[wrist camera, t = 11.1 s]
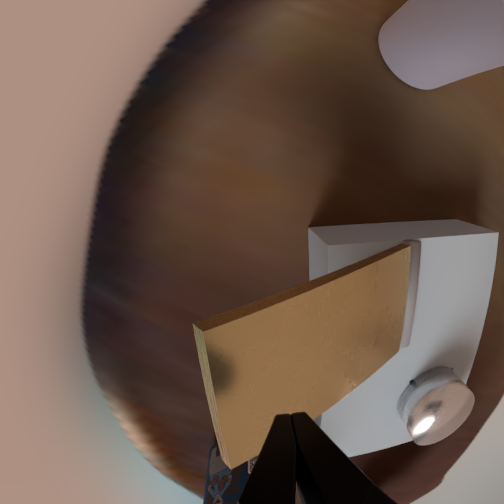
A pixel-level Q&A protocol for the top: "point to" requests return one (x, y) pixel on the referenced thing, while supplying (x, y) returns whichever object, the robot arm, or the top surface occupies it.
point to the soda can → (225, 479)
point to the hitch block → (410, 316)
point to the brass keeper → (300, 348)
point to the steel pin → (434, 405)
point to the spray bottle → (443, 40)
